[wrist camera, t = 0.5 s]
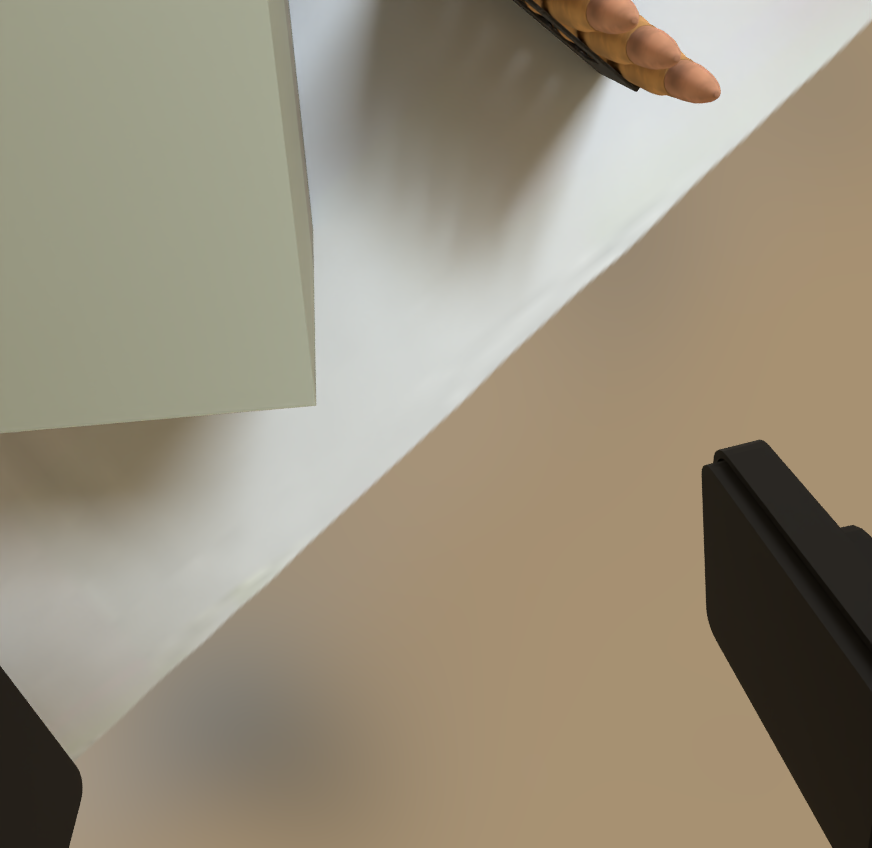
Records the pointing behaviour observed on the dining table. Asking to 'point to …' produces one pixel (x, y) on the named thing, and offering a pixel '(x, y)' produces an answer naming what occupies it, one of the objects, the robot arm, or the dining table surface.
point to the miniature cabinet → (151, 213)
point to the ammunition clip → (625, 47)
